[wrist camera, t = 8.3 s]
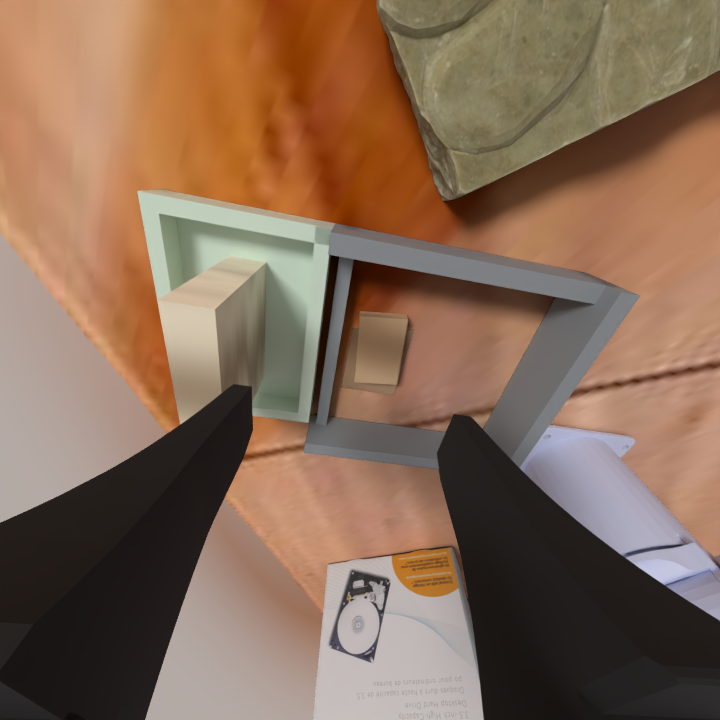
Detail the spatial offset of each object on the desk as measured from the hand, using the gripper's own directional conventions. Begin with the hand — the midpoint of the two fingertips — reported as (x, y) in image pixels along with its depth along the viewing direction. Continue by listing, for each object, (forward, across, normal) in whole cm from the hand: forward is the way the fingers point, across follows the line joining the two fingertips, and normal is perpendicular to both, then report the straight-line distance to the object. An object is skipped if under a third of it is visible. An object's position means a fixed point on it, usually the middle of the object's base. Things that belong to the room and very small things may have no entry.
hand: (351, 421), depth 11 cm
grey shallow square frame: (+10, -6, +2) cm, 11 cm away
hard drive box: (+10, -10, +32) cm, 36 cm away
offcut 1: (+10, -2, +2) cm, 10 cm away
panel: (+9, +7, +2) cm, 11 cm away
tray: (+10, +6, +1) cm, 12 cm away
